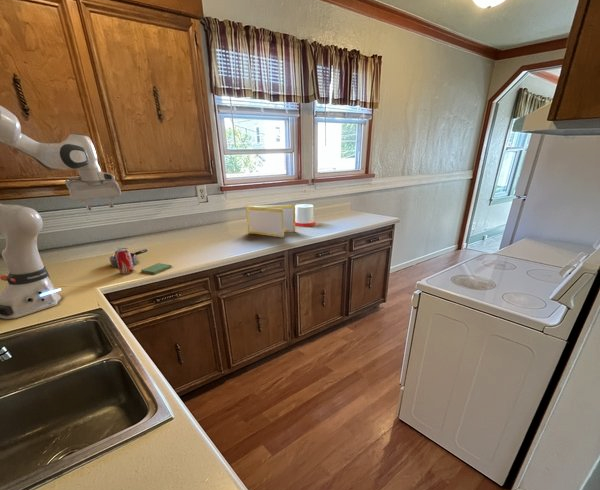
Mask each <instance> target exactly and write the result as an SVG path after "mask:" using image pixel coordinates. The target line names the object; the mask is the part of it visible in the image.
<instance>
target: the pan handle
mask: <svg viewBox="0 0 600 490" xmlns="http://www.w3.org/2000/svg"><path fill="white" fill-rule="evenodd" d="M148 250H149V249H147V248H145V249H142V250H139V251H136V252H133V253H134V254H136V256H139V255H142V254H144V253H147V252H148Z"/></svg>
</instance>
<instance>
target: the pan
mask: <svg viewBox="0 0 600 490" xmlns="http://www.w3.org/2000/svg"><path fill="white" fill-rule="evenodd" d="M134 253H135V252H130V254H131V257H132V261H133V265H134V266H136V265H138V263H139V262H138V257H137V255H136V254H134ZM108 260H109V262H110V266H111V267H112V268H115V269H119V268H118V264H117V261H116V257H115V254H113V255H111V256H109V259H108Z"/></svg>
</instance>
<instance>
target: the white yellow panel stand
mask: <svg viewBox="0 0 600 490" xmlns="http://www.w3.org/2000/svg"><path fill="white" fill-rule="evenodd" d="M245 210H246V222H247V232H248V233H249V234H253V235H261V236H268V237H274V238H275V237H276V238H284V237H285V233H293V232H295V231H296V225H295V205H294V204H282V205H281V204H279V205H247V206H246V208H245Z"/></svg>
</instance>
